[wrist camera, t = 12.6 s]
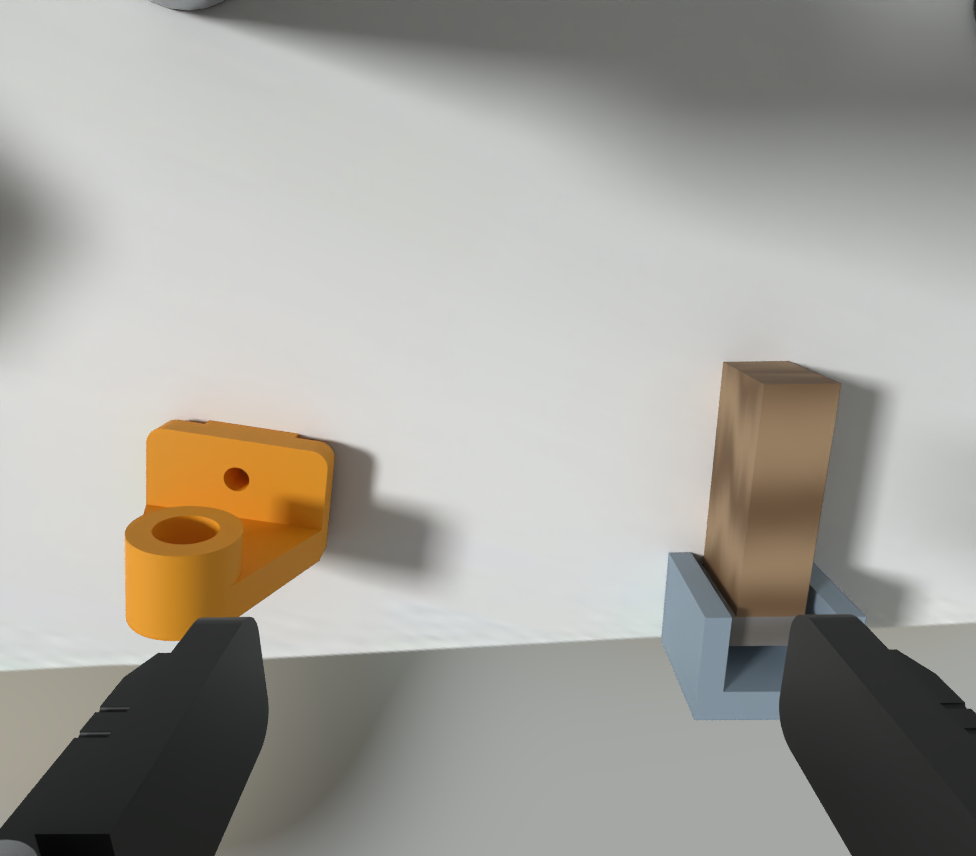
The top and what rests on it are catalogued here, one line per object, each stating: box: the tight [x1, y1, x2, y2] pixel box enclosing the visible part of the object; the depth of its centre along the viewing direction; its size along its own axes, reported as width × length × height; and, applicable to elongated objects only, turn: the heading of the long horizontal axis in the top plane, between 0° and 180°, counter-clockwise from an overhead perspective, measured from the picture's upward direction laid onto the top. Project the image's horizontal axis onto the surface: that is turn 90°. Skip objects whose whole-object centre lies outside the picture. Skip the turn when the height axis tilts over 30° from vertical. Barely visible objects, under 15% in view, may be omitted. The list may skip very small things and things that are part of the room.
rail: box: [700, 361, 841, 646], centre depth 38 cm, size 16×4×6 cm, turn 1°
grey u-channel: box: [661, 553, 866, 720], centre depth 40 cm, size 7×9×8 cm
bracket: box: [125, 420, 335, 641], centre depth 35 cm, size 11×7×12 cm, turn 81°
